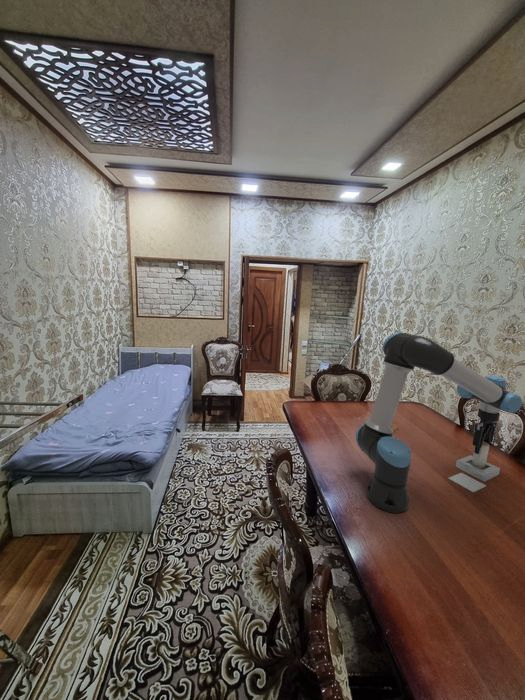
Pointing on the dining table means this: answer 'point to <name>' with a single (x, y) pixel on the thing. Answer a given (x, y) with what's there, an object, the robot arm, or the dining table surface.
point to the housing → (477, 469)
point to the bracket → (394, 427)
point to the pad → (467, 482)
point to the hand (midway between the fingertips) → (479, 458)
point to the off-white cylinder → (482, 457)
